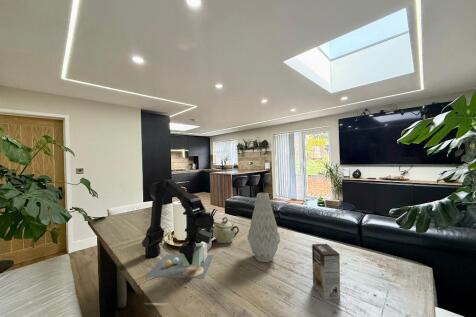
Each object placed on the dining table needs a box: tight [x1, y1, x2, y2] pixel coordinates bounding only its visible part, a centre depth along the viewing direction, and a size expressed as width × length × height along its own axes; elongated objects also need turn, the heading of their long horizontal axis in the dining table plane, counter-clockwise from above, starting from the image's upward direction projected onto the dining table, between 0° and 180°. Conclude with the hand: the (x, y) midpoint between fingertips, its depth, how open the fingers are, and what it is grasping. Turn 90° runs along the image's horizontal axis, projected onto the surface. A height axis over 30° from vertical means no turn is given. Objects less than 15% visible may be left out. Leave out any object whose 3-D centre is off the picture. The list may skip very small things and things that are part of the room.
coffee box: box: [311, 243, 341, 300], centre depth 76 cm, size 9×6×16 cm
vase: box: [246, 192, 281, 263], centre depth 103 cm, size 17×17×33 cm
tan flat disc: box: [183, 266, 204, 277], centre depth 90 cm, size 9×9×1 cm
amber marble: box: [165, 260, 172, 267], centre depth 95 cm, size 3×3×3 cm
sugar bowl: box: [211, 216, 240, 244], centre depth 125 cm, size 20×15×15 cm
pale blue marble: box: [173, 257, 179, 264], centre depth 97 cm, size 3×3×3 cm
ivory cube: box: [201, 242, 208, 262], centre depth 102 cm, size 7×7×7 cm
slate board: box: [144, 253, 215, 280], centre depth 96 cm, size 26×21×1 cm
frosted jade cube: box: [182, 243, 203, 267], centre depth 90 cm, size 7×7×7 cm
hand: (193, 260), depth 90 cm, fingers closed on frosted jade cube, 7 cm apart
